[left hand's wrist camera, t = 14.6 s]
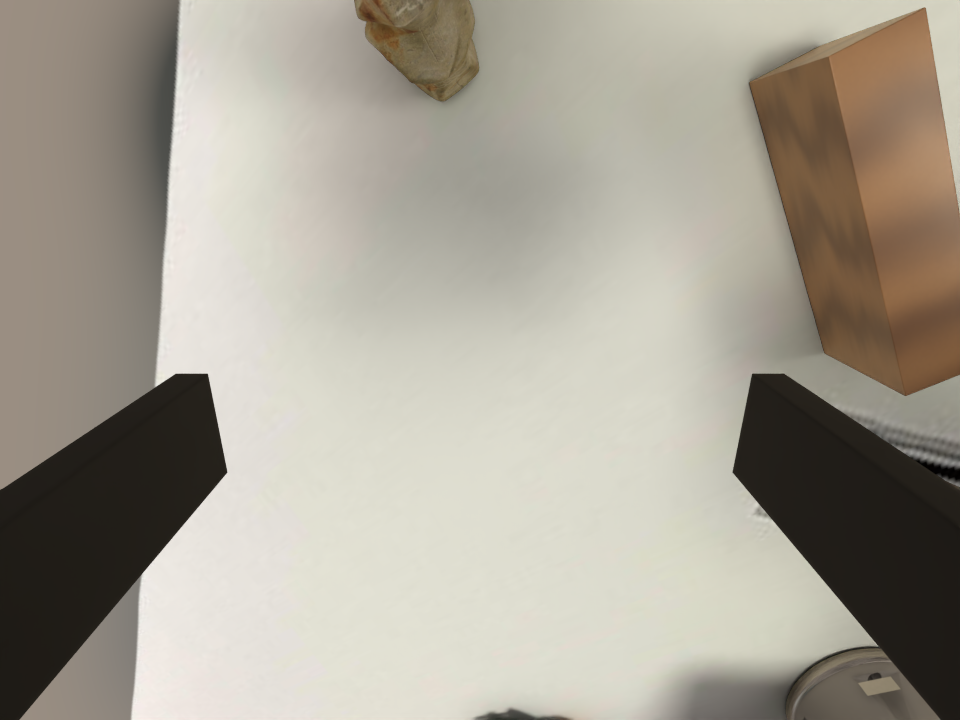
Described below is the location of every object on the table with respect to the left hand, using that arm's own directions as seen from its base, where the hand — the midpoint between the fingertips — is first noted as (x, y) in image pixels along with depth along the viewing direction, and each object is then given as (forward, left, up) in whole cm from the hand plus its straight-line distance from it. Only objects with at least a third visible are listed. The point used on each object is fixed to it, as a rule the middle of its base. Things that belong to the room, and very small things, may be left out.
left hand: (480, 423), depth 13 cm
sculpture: (-12, -7, -29) cm, 33 cm away
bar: (-10, +25, -29) cm, 39 cm away
